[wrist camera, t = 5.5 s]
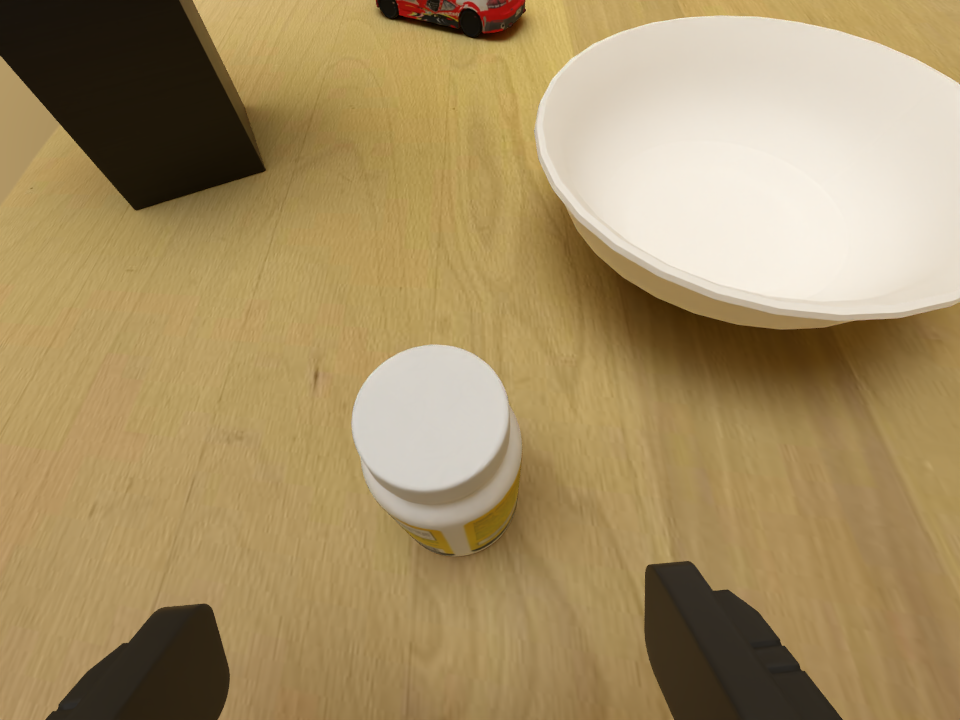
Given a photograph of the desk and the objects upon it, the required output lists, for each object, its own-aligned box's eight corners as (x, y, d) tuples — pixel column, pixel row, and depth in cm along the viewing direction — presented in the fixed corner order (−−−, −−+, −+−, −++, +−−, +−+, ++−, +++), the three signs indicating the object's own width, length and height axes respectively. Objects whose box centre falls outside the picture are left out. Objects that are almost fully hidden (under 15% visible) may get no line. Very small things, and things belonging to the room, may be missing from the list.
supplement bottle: (508, 433, 20) (513, 322, 13) (525, 549, 18) (544, 495, 10) (397, 446, 20) (339, 341, 13) (399, 565, 17) (329, 521, 10)
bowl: (479, 168, 29) (474, 59, 23) (754, 98, 31) (809, -14, 26) (632, 461, 19) (687, 394, 14) (1011, 325, 22) (1186, 222, 16)
